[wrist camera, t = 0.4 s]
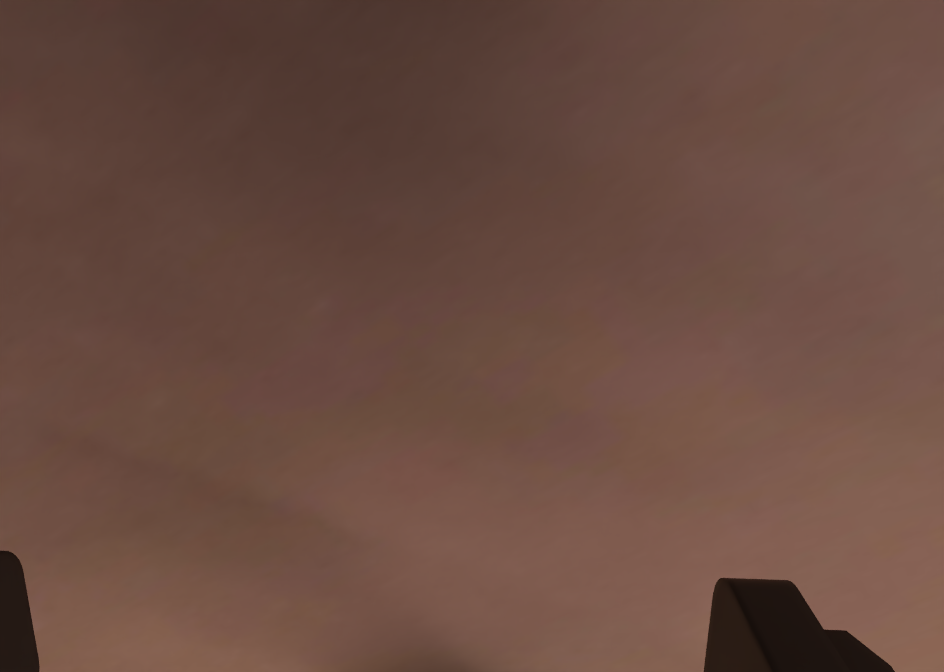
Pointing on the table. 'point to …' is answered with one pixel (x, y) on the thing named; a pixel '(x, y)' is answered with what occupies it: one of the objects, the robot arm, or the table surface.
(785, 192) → the table surface
